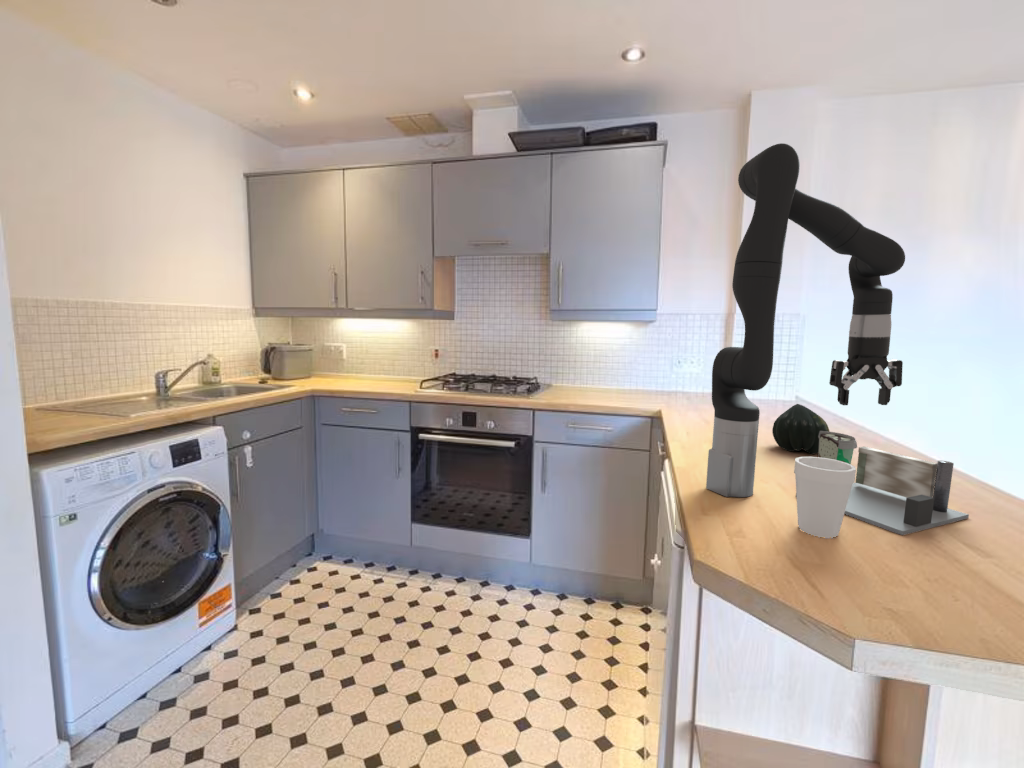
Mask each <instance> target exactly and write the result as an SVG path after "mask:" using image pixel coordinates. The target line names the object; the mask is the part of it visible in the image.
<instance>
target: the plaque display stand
mask: <svg viewBox="0 0 1024 768" xmlns="http://www.w3.org/2000/svg"><path fill="white" fill-rule="evenodd" d="M936 463H937V470H936V477H935V485H934V492H933V498H932V497H929V496H925V495H917V496H913V497H908V498H907V497H903V496H900V495H897V494H893V493H890V492H887V491H883V490H880V489H877V488H873V487H870V486H866V485H862V484H859V483H856V482H854V483H853V484H852V488H851V492H850V495H849V499H848V502H847V506H846V510H845V513H844V515H845V514H846V515H845V516H848V515H849V516H848V517H850V518H853V517H854V518H853V519H856V518H857V520H859V519H860V520H859V521H862V522H864V521H865V523H867V524H870V525H873V526H876V527H879V528H882V529H884V530H887V531H889V532H892V533H894V534H898V535H900V536H905V535H908V534H913V533H917V532H921V531H924V530H928V529H932V528H937V527H941V526H943V525H948V524H951V523H952V524H953V523H956V522H958V521H963V520H967V519H969V516H970V514H969V513H966V512H962V511H959V510H955V509H952V508H949V501H950V492H951V487H952V485H951V484H952V476H953V470H954V462H952V461H947V460H937V462H936Z"/></svg>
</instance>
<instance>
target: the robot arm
mask: <svg viewBox="0 0 1024 768" xmlns="http://www.w3.org/2000/svg"><path fill="white" fill-rule="evenodd" d="M799 174H800V158H799V155H798V152H797V151H796V150H795V148H793V146H791V145H790V144H788V143H776V144H773V145H772V146H771V145H770V146H769V147H767V148H765V149H763V150H762V151H761V152H759V153H757V155H755V156H754V157H752V158H750V160H748V161H746V163H745V164H744V165H743V166H742V167H741V168H740V170H739V173H738V179H737V180H738V182H737V183H738V185H739V188H740V190H741V192H742V193H743V194H744V195H745V196H747V198H750V199H751V200H753V201H754V209H753V214H752V218H751V220H750V222H749V225H748V228H747V229H746V232H745V234H744V236H743V239H742V241H741V243H740V245H739V247H738V251H737V253H736V257H735V260H734V268H733V276H732V286H731V287H732V292H733V295H734V299H735V301H736V303H737V306H738V308H739V310H740V312H741V315H742V318H743V323H744V338H743V339H744V340H743V346H741V347H739V346H726V347H724V348H722V349H720V350H719V352H717V354H716V356H715V358H714V360H713V363H712V369H711V371H712V372H711V402H712V403H711V404H712V406H713V409H714V417H713V431H712V432H713V433H712V441H711V442H712V443H711V446H712V447H711V448H710V449H708V457H707V470H706V483H705V485H706V486H705V489H707V490H709V491H711V492H714V493H716V494H719V495H722V496H723V497H726V498H729V497H730V498H731V497H732V498H733V497H734V498H746V497H751V496H752V495H753V494H754V486H755V473H756V471H755V470H756V458H757V448H758V435H759V426H760V425H759V424H760V415H761V413H760V409H759V407H758V405H756V404H755V403H753V402H752V401H751V400H750V399H749V398H748V397H747V395H746V390H747V391H759V390H762V389H763V388H765V386H766V385H767V384H768V382H769V380H770V379H771V376H772V371H773V366H774V364H773V363H774V340H775V322H776V310H777V301H778V294H779V287H780V281H781V277H782V276H781V275H782V268H783V261H784V260H783V259H784V250H785V243H786V237H787V230H788V224H789V220H790V221H792V223H795V224H796V225H798V226H800V227H801V228H803V229H804V230H805V231H807V232H808V233H810V234H811V235H812V236H814V237H815V238H817V240H819V241H820V242H822V243H823V244H824V245H825V246H827V247H828V248H829V249H831V250H832V251H833V252H835V253H837V254H839V255H842V256H843V255H846V256H850V258H849V262H848V276H849V277H848V278H849V282H850V286H851V290H852V294H853V300H852V312H851V313H852V314H851V319H850V323H849V329H848V330H849V331H848V333H849V334H848V344H847V357H848V358H846V359H847V360H845V361H844V360H843V361H842V360H836V359H834V360H833V361H832V362H831V363H832V364H831V369H830V377H829V382H828V383H829V385H830V386H832V387H835V388H837V402H838V403H839V405H842V406H848V405H849V397H850V387H851V386H852V385H853V384H855V383H856V382H857V381H858V380H868V379H869V380H874V381H876V382H877V383H878V385H879V386H880V387H878V395H877V396H878V397H877V404H878V405H881V406H887V405H888V404H889V403H890V401H891V393H892V390H893V388H896V387H901V386H902V385H903V364H904V363H903V361H902V360H900V359H893V358H892V359H891V358H890V360H888V356H889V353H890V343H891V332H892V308H893V298H894V297H893V296H894V295H893V290H891V289H890V288H888V287H885V286H883V285H882V281H881V277H883V276H889V275H894V274H895V273H897V272H898V271H900V270H901V269H902V268H903V266H904V264H905V261H906V253H905V250H904V248H903V247H902V245H900V244H899V243H898V242H897V241H896V240H894V239H892V238H891V237H889V236H886V235H884V234H883V233H880V232H878V231H876V230H873V229H871V228H868V227H866V226H865V225H864V224H862V223H861V222H860V221H858V220H857V219H856V217H854V216H853V215H852V214H850V213H849V212H847V211H846V210H844V209H843V208H842V207H839V206H837V205H835V204H832V203H831V202H828V201H825V200H822V199H819V198H816V197H814V196H811V195H809V194H806V193H805V192H802V191H801V190H799V189H798V188H796V187H797V183H798V180H799ZM846 368H847V371H846V372H845V374H843V373H844V370H845V369H846ZM887 368H888V374H887V373H886V372H885V370H886V369H887Z"/></svg>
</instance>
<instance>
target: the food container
mask: <svg viewBox="0 0 1024 768" xmlns="http://www.w3.org/2000/svg"><path fill="white" fill-rule="evenodd" d="M818 438H819V452H818V453H817V455H818V457H821V458H828V459H834V460H838V461H842V462H845V463H849V464H851V465H852V458H853V456H854V450H855V449H857V448H858V443H857V442H858V441H857V440H856V437H854V436H852V435H848V434H845V433H840V432H835V431H830V432H828V431H820V433H819V436H818Z"/></svg>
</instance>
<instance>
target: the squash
mask: <svg viewBox="0 0 1024 768" xmlns="http://www.w3.org/2000/svg"><path fill="white" fill-rule="evenodd" d="M820 431H828V432H831V431H830V429H829V425H828V424H827V421H825V419H824V418H822V417H821V416H820V415H819V414H817V413H816V412H815V411H813V410H811V409H809V408H808V407H807V406H805V405H802V404H800V403H796V404H794V405H792V406H791V407H789V408H788V409H787V410H785V411H784V412H783V413H781V414H780V415H778V417H777V418H776V419H775V420H774V421H773V426H772V431H771V432H772V436H773V439H774V441H775V442H776V444H777V445H778V447H780V448H782V449H784V450H786V451H789V452H794V451H797V452H798V451H801V450H803V451H805V452H806V453H808V454H811V455H813V454H818V452H819V438H818V436H819V433H820Z"/></svg>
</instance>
